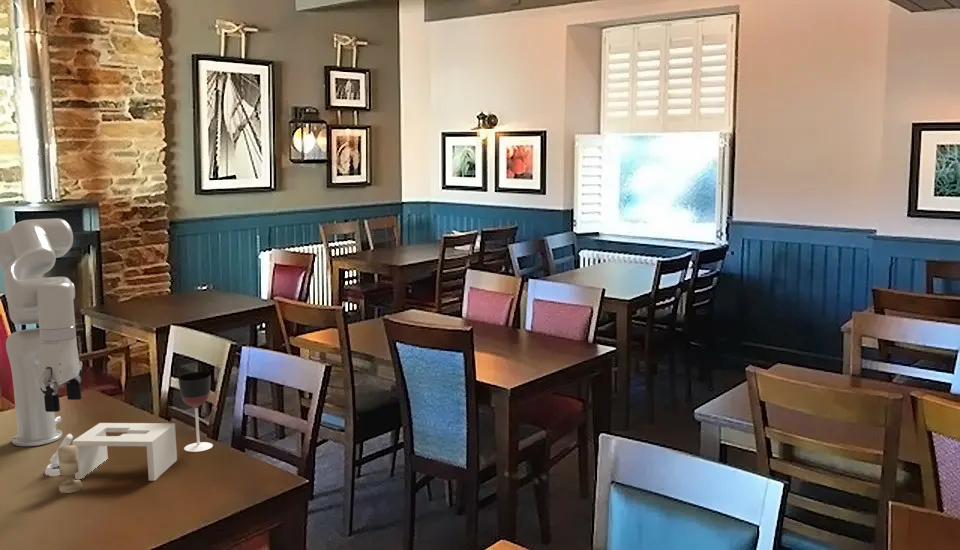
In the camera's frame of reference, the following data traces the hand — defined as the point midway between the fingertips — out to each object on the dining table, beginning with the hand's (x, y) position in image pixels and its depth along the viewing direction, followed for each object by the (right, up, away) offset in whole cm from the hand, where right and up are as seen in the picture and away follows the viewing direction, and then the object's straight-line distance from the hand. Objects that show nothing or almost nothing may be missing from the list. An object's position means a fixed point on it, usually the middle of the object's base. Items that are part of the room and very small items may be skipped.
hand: (64, 405), depth 199 cm
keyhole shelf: (+8, -19, +16) cm, 26 cm away
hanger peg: (0, -21, +3) cm, 21 cm away
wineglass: (+21, -17, +32) cm, 42 cm away
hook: (-8, -19, +16) cm, 26 cm away
